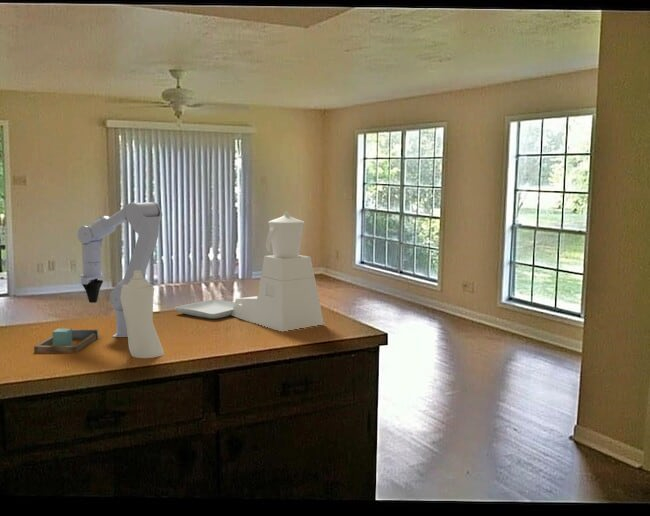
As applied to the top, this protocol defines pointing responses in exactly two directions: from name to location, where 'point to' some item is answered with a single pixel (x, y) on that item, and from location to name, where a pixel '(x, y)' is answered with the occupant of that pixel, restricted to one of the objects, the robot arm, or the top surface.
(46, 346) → the bay
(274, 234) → the blender
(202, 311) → the salad plate
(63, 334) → the teal block
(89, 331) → the gate
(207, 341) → the top surface
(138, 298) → the white bottle
